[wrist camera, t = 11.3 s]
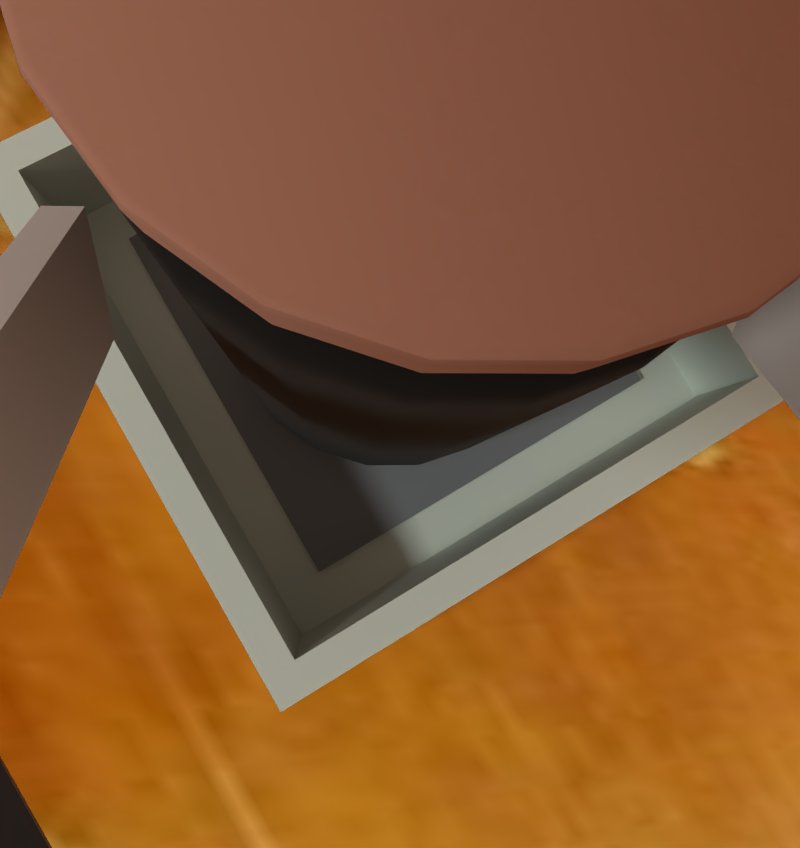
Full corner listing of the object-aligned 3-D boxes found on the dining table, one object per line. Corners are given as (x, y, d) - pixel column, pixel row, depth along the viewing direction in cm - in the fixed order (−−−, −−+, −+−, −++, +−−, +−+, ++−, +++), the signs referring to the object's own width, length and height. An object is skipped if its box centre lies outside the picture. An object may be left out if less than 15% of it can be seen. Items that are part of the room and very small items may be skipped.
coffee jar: (565, 442, 25) (1098, 288, 8) (256, 493, 24) (27, 455, 7) (509, 150, 26) (861, -590, 9) (211, 187, 25) (-93, -566, 8)
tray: (40, 223, 26) (-32, 157, 21) (470, 8, 28) (498, -99, 23) (292, 671, 25) (280, 712, 20) (718, 410, 27) (802, 388, 22)
